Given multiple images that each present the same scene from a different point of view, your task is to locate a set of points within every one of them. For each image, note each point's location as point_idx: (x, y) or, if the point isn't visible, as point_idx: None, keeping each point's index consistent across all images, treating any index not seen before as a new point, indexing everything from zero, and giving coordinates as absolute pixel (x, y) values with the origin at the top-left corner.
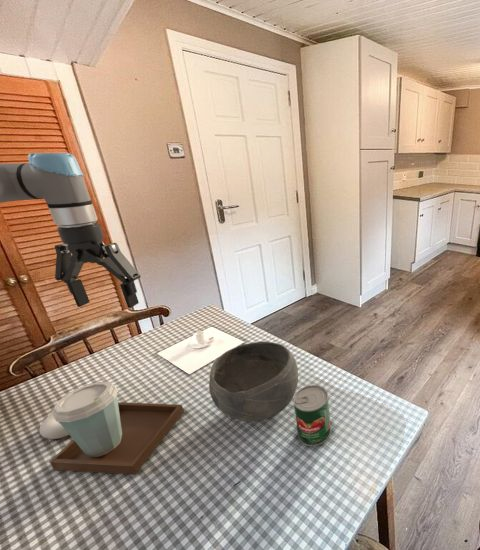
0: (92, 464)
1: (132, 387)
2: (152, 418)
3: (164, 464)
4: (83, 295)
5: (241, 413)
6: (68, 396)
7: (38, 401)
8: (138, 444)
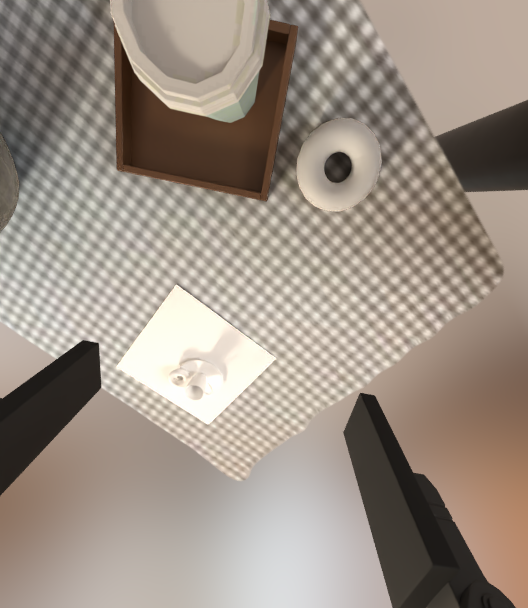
0: None
1: (271, 262)
2: (175, 156)
3: (86, 23)
4: (363, 463)
5: None
6: (242, 23)
7: (437, 249)
8: None
